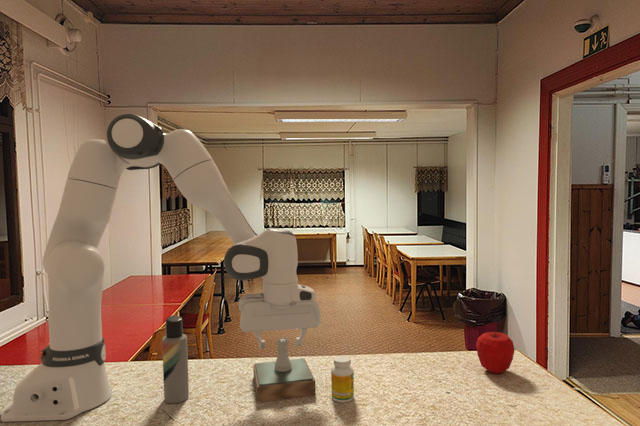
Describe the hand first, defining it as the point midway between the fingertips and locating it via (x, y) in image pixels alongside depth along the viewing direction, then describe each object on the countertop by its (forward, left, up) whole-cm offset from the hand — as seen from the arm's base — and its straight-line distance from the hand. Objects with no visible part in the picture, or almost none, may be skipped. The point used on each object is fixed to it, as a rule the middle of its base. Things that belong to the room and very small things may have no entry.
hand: (280, 346), depth 109 cm
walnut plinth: (0, 0, -10) cm, 10 cm away
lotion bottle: (-26, 0, -11) cm, 28 cm away
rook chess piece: (+1, +1, -7) cm, 7 cm away
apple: (+57, -6, -11) cm, 59 cm away
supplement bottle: (+13, -10, -11) cm, 20 cm away
